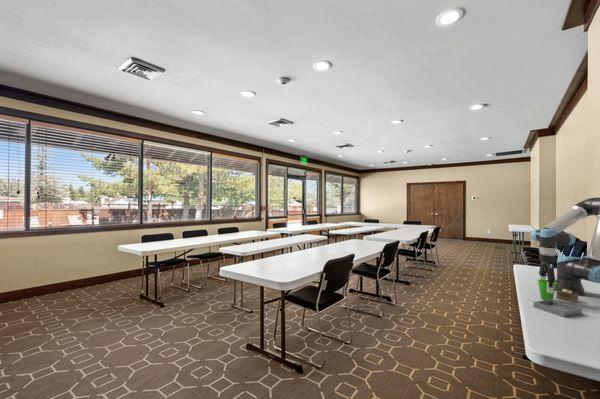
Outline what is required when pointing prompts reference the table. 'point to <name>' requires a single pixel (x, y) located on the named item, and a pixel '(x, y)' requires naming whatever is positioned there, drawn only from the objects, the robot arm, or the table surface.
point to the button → (567, 291)
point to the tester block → (567, 296)
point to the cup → (545, 290)
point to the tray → (558, 308)
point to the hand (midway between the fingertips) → (546, 289)
